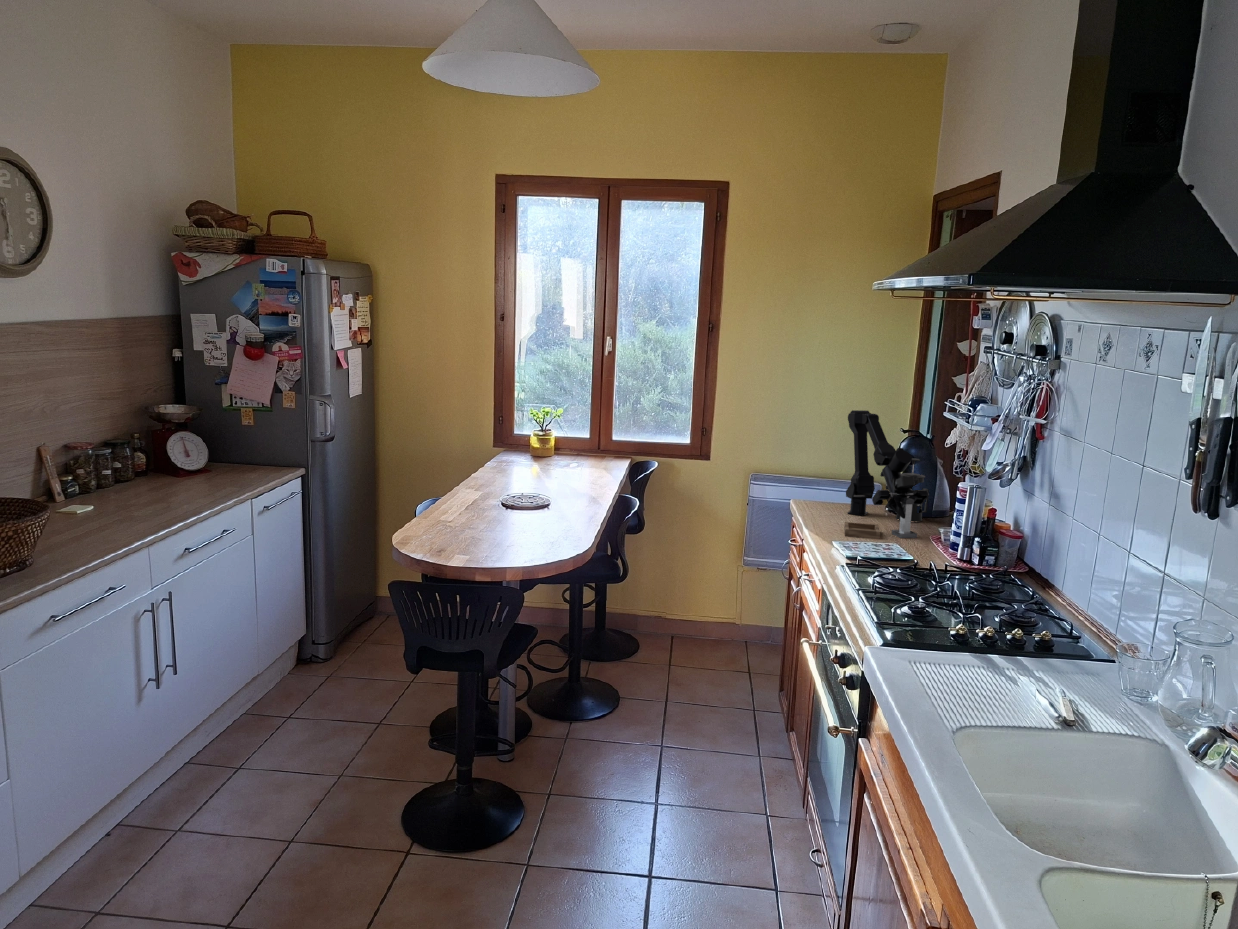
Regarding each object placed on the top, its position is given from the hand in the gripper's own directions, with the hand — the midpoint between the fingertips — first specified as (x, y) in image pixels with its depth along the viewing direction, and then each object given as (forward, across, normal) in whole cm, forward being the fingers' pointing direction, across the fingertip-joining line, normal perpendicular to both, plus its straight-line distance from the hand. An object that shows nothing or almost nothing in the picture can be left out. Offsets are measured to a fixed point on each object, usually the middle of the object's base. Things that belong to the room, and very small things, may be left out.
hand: (907, 518), depth 295 cm
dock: (+1, -14, +9) cm, 16 cm away
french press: (-13, +16, +22) cm, 30 cm away
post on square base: (+4, 0, +6) cm, 7 cm away
